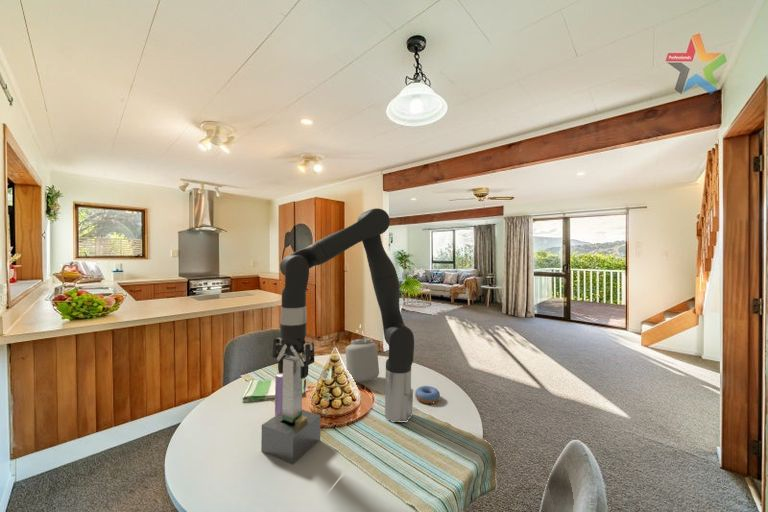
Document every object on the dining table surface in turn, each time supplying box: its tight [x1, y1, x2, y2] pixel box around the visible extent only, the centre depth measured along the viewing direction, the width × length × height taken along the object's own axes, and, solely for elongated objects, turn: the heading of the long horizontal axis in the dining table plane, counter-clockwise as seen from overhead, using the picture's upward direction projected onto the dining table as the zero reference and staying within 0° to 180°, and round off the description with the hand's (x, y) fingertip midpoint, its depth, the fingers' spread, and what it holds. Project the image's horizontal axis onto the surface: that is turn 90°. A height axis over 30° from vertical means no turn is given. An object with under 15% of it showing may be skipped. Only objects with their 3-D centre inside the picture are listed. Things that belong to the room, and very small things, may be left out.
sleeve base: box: [260, 409, 322, 466], centre depth 89 cm, size 12×12×9 cm
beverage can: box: [274, 371, 283, 417], centre depth 106 cm, size 6×6×15 cm
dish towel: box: [241, 378, 306, 403], centre depth 125 cm, size 18×23×3 cm
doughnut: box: [414, 385, 441, 404], centre depth 120 cm, size 10×10×5 cm
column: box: [282, 355, 303, 423], centre depth 89 cm, size 4×4×18 cm
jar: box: [345, 324, 380, 383], centre depth 138 cm, size 19×15×25 cm
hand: (292, 375), depth 89 cm, fingers open, 8 cm apart
